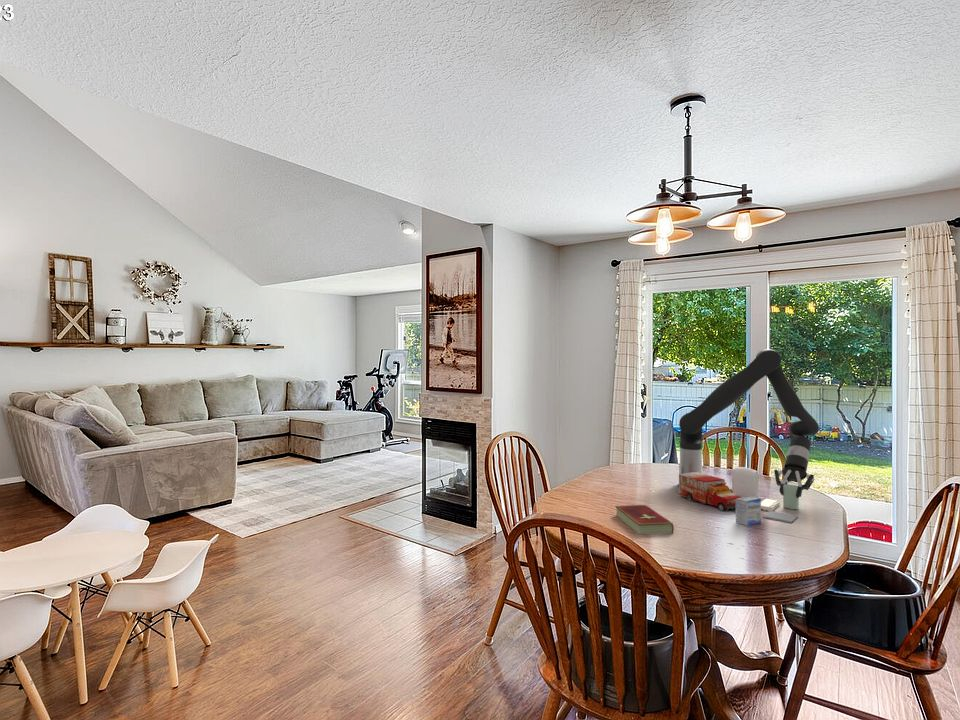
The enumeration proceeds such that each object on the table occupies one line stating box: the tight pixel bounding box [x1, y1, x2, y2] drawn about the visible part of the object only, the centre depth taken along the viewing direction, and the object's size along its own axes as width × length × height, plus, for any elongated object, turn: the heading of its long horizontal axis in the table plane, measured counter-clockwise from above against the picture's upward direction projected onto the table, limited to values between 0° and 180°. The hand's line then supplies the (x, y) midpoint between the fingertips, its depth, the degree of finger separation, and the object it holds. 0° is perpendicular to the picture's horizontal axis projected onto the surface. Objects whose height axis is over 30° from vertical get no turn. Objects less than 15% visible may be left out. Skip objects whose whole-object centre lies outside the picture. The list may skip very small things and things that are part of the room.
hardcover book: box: [614, 504, 675, 535], centre depth 174 cm, size 12×21×4 cm, turn 6°
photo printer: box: [731, 466, 760, 498], centre depth 208 cm, size 10×4×12 cm, turn 39°
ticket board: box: [761, 498, 781, 512], centre depth 194 cm, size 5×12×2 cm, turn 136°
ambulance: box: [677, 472, 743, 512], centre depth 200 cm, size 11×25×10 cm, turn 21°
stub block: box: [782, 483, 800, 510], centre depth 193 cm, size 4×3×8 cm, turn 46°
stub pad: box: [762, 510, 799, 524], centre depth 181 cm, size 9×9×1 cm
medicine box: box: [735, 496, 762, 527], centre depth 175 cm, size 8×4×9 cm, turn 117°
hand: (789, 495), depth 191 cm, fingers closed on stub block, 4 cm apart
